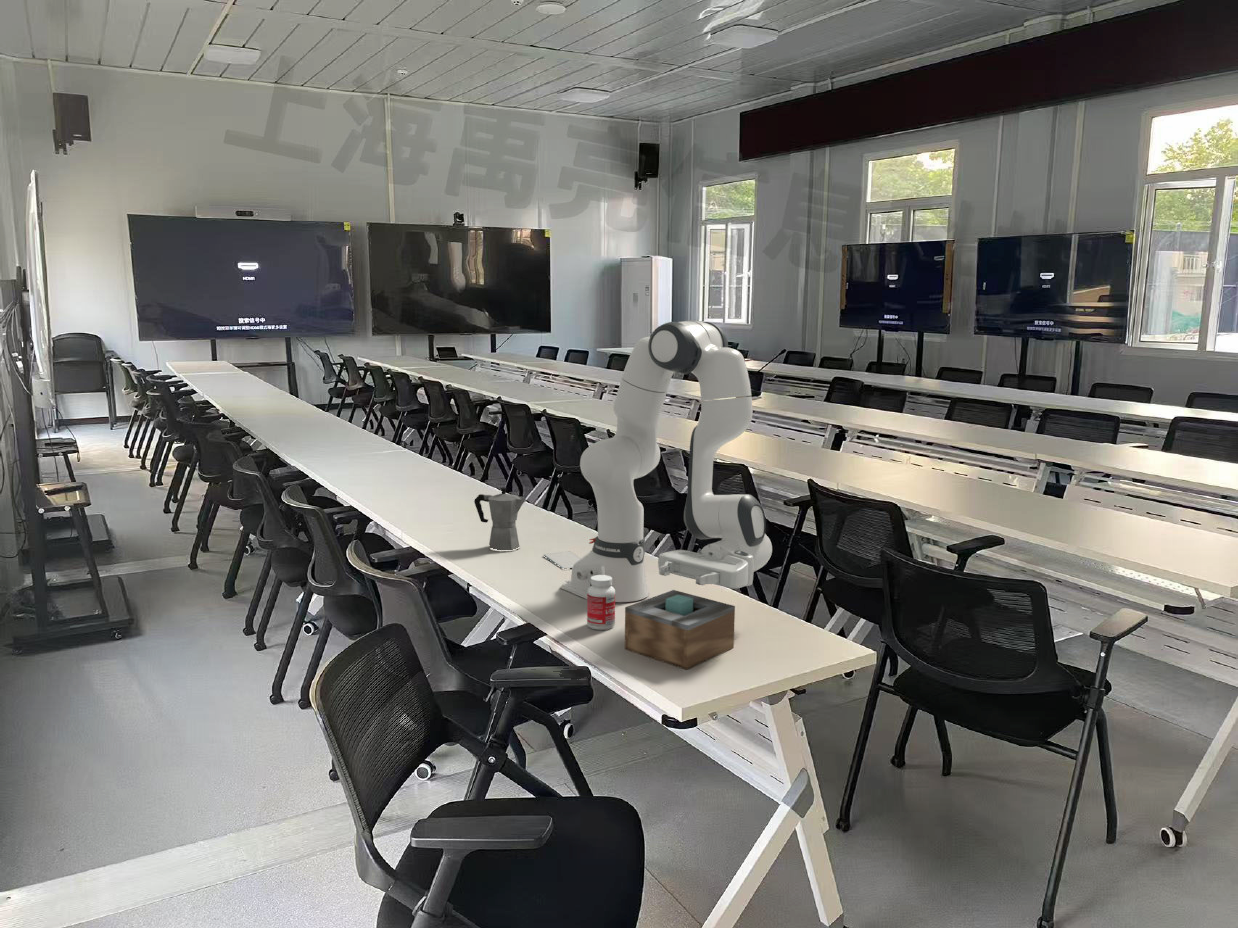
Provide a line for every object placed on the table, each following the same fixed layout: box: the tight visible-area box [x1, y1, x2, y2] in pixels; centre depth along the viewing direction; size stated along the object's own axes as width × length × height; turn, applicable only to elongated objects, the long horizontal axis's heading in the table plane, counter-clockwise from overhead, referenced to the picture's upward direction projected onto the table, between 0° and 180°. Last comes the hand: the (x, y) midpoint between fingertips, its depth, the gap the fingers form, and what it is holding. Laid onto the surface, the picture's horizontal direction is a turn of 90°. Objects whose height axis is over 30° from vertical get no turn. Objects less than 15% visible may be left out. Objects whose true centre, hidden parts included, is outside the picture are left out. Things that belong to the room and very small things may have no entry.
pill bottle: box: [586, 575, 616, 631], centre depth 202 cm, size 6×6×11 cm
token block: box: [665, 595, 693, 616], centre depth 189 cm, size 4×4×10 cm
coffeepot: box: [473, 486, 527, 550], centre depth 265 cm, size 15×9×18 cm, turn 80°
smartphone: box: [543, 551, 582, 569], centre depth 254 cm, size 8×1×15 cm
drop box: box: [624, 589, 736, 671], centre depth 189 cm, size 16×16×9 cm
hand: (679, 576), depth 187 cm, fingers open, 8 cm apart
